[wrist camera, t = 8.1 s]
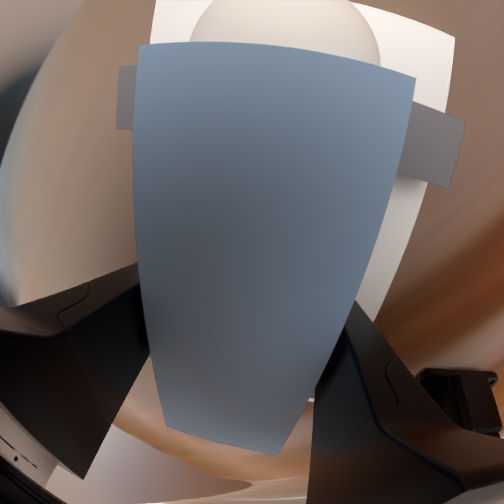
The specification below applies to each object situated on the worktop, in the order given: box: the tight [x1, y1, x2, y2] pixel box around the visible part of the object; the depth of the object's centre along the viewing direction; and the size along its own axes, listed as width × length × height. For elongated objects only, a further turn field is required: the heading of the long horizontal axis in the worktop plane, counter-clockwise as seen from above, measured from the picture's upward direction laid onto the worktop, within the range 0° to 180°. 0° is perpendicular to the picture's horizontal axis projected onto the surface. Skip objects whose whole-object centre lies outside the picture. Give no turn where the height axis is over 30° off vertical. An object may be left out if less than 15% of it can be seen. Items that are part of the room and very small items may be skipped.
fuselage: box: [133, 0, 416, 455], centre depth 8 cm, size 14×4×4 cm, turn 173°
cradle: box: [116, 0, 466, 402], centre depth 11 cm, size 18×10×3 cm, turn 173°
